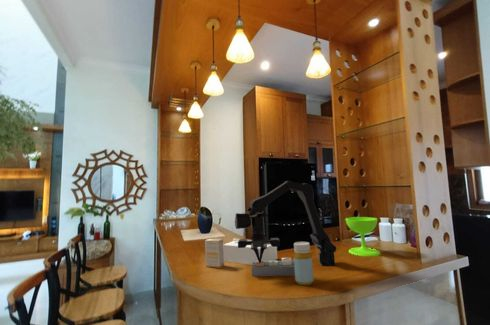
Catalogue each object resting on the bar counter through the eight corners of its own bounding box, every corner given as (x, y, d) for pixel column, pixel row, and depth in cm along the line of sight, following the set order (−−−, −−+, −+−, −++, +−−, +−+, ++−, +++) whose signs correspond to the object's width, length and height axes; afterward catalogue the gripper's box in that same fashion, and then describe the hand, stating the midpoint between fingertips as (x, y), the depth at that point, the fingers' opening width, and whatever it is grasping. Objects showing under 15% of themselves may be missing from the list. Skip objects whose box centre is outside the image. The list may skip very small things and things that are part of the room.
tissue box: (264, 267, 118) (263, 243, 119) (223, 261, 131) (222, 240, 132) (277, 259, 130) (276, 238, 131) (238, 254, 143) (237, 235, 144)
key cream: (290, 262, 111) (290, 257, 111) (291, 264, 107) (291, 259, 107) (281, 262, 111) (281, 257, 111) (282, 265, 107) (282, 260, 108)
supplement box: (224, 265, 123) (223, 238, 124) (219, 268, 119) (218, 240, 120) (210, 263, 126) (209, 238, 128) (205, 266, 122) (204, 240, 123)
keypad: (294, 268, 113) (293, 260, 113) (296, 275, 104) (295, 266, 104) (253, 269, 114) (252, 261, 115) (252, 276, 106) (251, 267, 106)
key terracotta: (264, 265, 112) (264, 260, 112) (264, 268, 108) (264, 263, 108) (255, 265, 112) (255, 260, 112) (255, 268, 108) (255, 263, 108)
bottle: (293, 280, 99) (290, 242, 100) (310, 278, 99) (307, 240, 101) (298, 286, 92) (295, 245, 94) (316, 285, 93) (313, 244, 94)
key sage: (277, 265, 111) (277, 260, 112) (278, 267, 107) (277, 262, 108) (268, 265, 112) (268, 260, 112) (268, 268, 108) (268, 263, 108)
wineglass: (343, 253, 133) (340, 219, 135) (355, 247, 144) (352, 216, 146) (374, 258, 122) (370, 221, 124) (385, 251, 132) (381, 217, 134)
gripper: (235, 231, 105) (237, 268, 103) (279, 229, 103) (281, 267, 101) (238, 226, 116) (240, 260, 114) (278, 225, 114) (280, 259, 112)
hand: (259, 262), depth 110 cm, fingers closed, pressing on key terracotta
